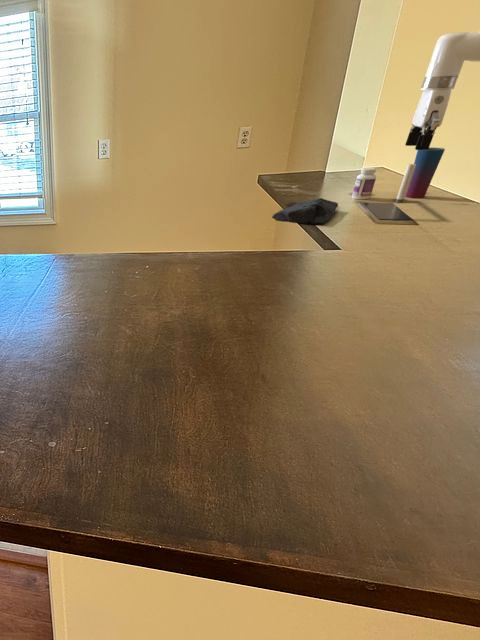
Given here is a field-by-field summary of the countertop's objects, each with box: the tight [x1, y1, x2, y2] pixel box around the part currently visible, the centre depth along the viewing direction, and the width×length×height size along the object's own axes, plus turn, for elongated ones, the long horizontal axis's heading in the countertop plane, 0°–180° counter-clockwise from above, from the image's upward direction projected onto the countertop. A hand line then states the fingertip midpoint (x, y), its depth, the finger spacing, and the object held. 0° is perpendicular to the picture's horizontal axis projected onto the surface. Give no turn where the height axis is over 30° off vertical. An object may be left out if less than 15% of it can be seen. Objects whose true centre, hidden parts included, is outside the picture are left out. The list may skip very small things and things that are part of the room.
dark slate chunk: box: [271, 197, 339, 225], centre depth 149 cm, size 15×22×5 cm
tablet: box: [357, 201, 420, 226], centre depth 145 cm, size 16×24×1 cm, turn 158°
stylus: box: [394, 163, 416, 204], centre depth 153 cm, size 2×2×12 cm
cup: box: [405, 146, 445, 199], centre depth 158 cm, size 7×7×15 cm
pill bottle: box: [351, 167, 377, 200], centre depth 163 cm, size 5×5×10 cm
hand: (416, 147), depth 147 cm, fingers open, 9 cm apart
